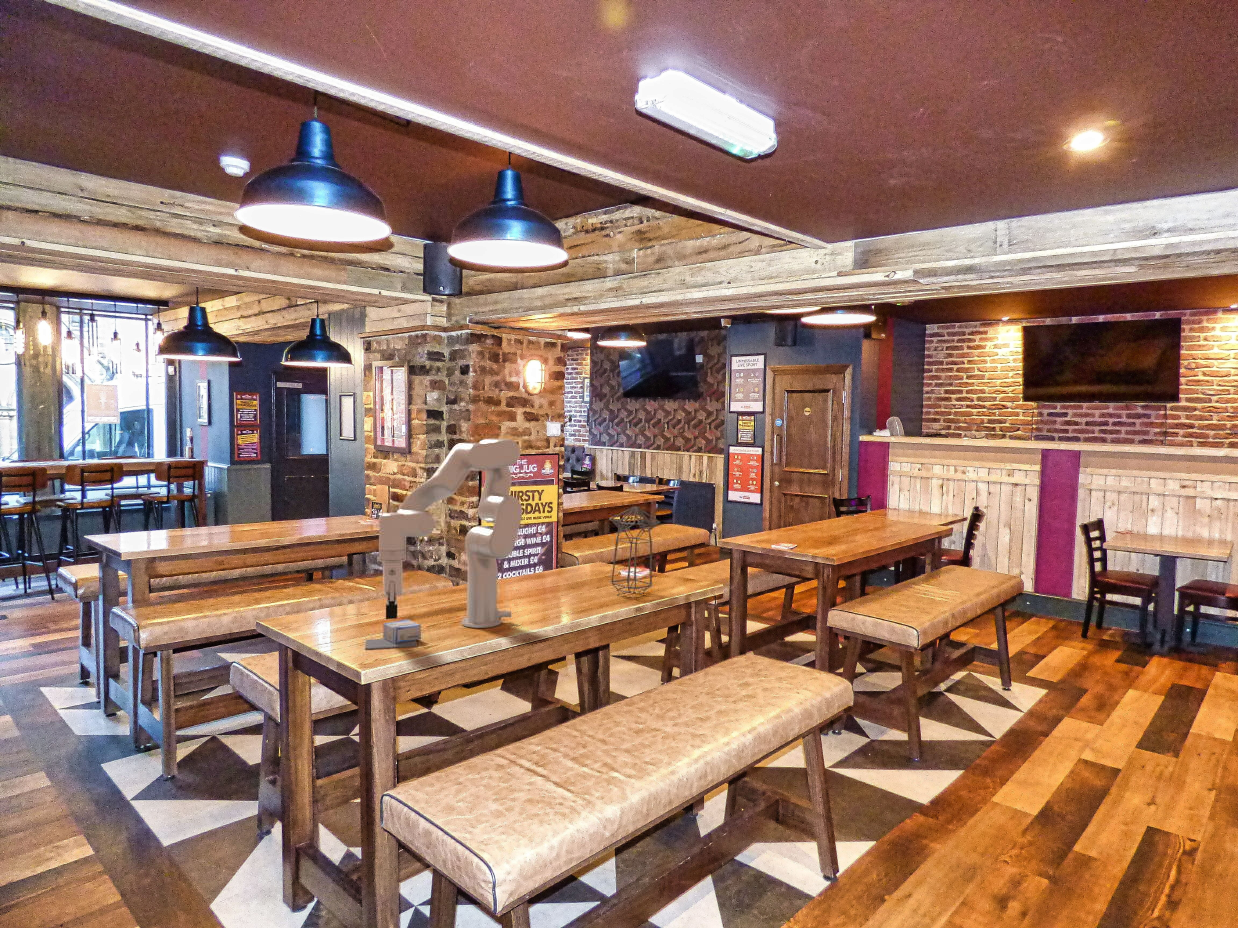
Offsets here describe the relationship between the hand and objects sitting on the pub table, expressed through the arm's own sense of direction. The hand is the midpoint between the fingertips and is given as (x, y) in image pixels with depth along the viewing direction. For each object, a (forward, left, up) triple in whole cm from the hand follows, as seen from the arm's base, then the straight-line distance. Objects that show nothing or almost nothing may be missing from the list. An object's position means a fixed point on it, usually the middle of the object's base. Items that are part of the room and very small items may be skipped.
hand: (391, 617), depth 210 cm
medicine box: (-1, -6, -5) cm, 7 cm away
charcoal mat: (0, +2, -7) cm, 7 cm away
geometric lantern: (-90, -46, -7) cm, 102 cm away
